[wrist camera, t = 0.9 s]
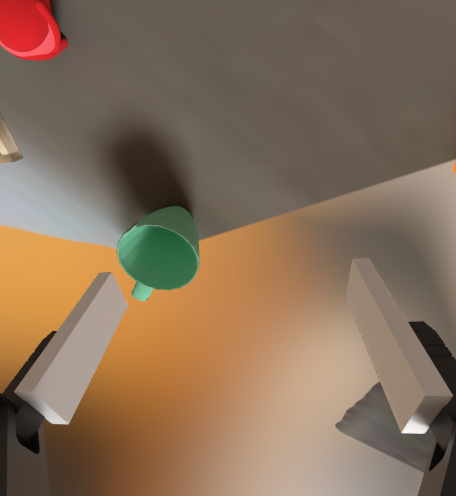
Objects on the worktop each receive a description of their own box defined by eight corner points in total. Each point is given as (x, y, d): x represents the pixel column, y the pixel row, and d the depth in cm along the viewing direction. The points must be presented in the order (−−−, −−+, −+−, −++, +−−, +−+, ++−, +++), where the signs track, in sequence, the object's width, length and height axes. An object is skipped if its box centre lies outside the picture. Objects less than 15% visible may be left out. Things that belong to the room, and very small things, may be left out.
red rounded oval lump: (64, 80, 27) (49, 16, 21) (-9, 63, 25) (-46, -13, 19) (72, 28, 29) (61, -41, 24) (7, 8, 27) (-22, -73, 22)
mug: (156, 176, 35) (129, 209, 27) (220, 209, 37) (212, 248, 29) (128, 251, 43) (99, 294, 35) (182, 275, 45) (167, 320, 37)
